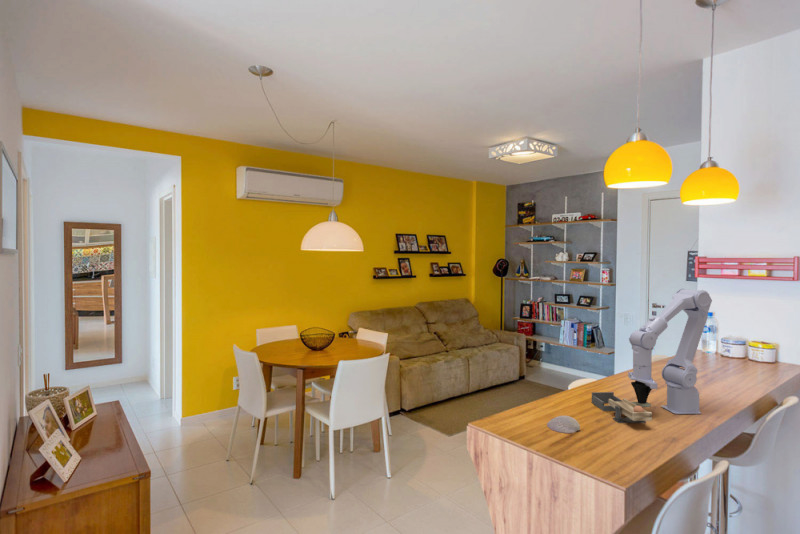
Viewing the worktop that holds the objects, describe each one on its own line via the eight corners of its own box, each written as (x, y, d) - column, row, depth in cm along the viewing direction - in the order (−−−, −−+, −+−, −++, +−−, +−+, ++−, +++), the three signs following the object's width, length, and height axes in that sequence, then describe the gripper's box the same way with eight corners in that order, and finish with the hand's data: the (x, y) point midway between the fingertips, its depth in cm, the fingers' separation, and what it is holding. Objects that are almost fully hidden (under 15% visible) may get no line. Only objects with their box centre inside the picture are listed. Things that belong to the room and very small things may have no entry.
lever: (645, 403, 154) (645, 396, 154) (674, 420, 138) (674, 412, 138) (608, 404, 154) (608, 397, 154) (633, 420, 138) (633, 413, 138)
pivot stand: (639, 418, 148) (639, 404, 148) (646, 422, 144) (646, 408, 144) (612, 418, 148) (612, 404, 148) (618, 423, 144) (618, 408, 144)
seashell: (576, 427, 134) (545, 413, 140) (572, 443, 135) (541, 429, 141) (586, 417, 142) (556, 404, 148) (582, 432, 142) (552, 419, 149)
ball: (640, 413, 142) (640, 404, 142) (646, 416, 139) (645, 406, 139) (631, 413, 142) (631, 404, 142) (636, 416, 139) (636, 406, 139)
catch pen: (612, 402, 165) (612, 392, 165) (625, 410, 156) (625, 399, 156) (591, 402, 165) (591, 392, 165) (603, 411, 156) (603, 400, 156)
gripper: (620, 360, 159) (620, 396, 160) (642, 370, 145) (642, 410, 145) (639, 360, 159) (638, 396, 160) (663, 370, 145) (663, 410, 145)
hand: (642, 403), depth 152 cm, fingers closed, pressing on lever
